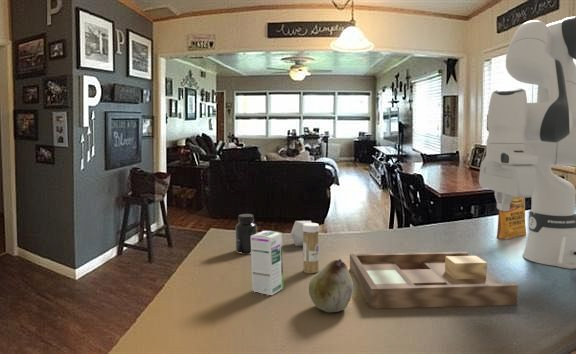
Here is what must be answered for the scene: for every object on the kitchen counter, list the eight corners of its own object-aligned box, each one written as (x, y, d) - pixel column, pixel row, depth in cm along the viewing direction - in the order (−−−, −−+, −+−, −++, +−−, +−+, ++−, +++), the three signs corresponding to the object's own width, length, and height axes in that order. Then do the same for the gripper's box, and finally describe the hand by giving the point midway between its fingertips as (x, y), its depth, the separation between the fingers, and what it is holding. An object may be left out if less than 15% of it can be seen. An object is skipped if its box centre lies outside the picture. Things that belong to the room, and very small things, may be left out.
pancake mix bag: (485, 237, 161) (488, 159, 158) (515, 230, 171) (519, 156, 168) (502, 241, 156) (506, 160, 152) (533, 233, 166) (537, 157, 163)
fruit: (339, 322, 93) (340, 266, 92) (300, 312, 98) (300, 259, 97) (359, 305, 102) (359, 253, 101) (322, 297, 107) (322, 248, 106)
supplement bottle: (231, 253, 144) (231, 216, 143) (242, 247, 150) (241, 212, 149) (251, 255, 142) (250, 218, 140) (260, 249, 148) (260, 213, 147)
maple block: (475, 270, 117) (475, 255, 117) (486, 278, 111) (487, 262, 111) (445, 271, 117) (445, 256, 117) (454, 279, 111) (455, 263, 111)
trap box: (465, 267, 128) (465, 251, 128) (516, 304, 101) (517, 285, 101) (349, 269, 127) (349, 254, 126) (371, 308, 100) (371, 289, 100)
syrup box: (271, 296, 108) (271, 237, 106) (251, 292, 111) (250, 234, 109) (283, 288, 113) (283, 232, 111) (263, 285, 116) (262, 229, 114)
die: (308, 251, 148) (323, 225, 150) (284, 237, 149) (299, 212, 151) (306, 254, 156) (321, 229, 158) (284, 240, 157) (299, 216, 159)
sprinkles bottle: (316, 274, 123) (316, 226, 122) (300, 273, 125) (300, 225, 123) (320, 269, 127) (320, 222, 126) (305, 268, 129) (304, 221, 127)
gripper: (473, 152, 121) (471, 203, 123) (515, 157, 101) (512, 218, 103) (496, 152, 122) (494, 202, 123) (542, 157, 101) (539, 218, 103)
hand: (502, 210), depth 113 cm, fingers closed
